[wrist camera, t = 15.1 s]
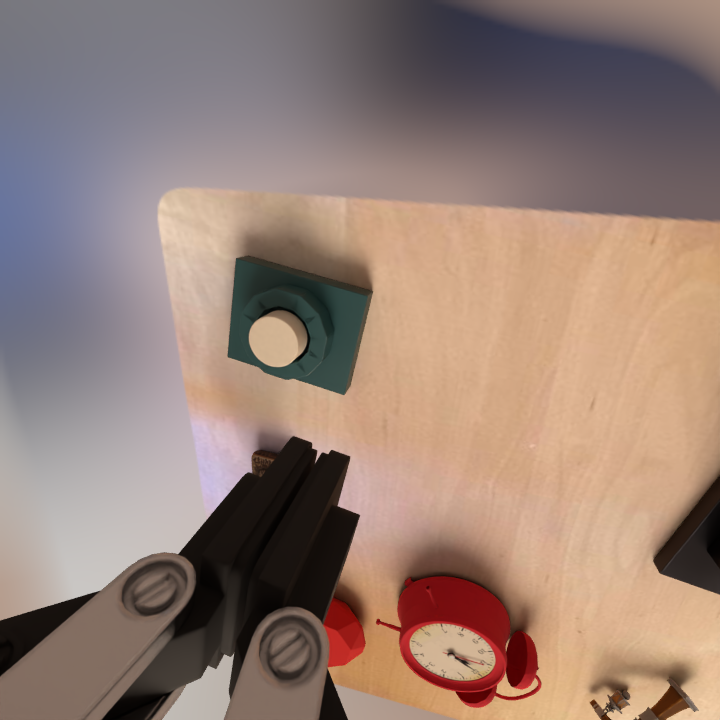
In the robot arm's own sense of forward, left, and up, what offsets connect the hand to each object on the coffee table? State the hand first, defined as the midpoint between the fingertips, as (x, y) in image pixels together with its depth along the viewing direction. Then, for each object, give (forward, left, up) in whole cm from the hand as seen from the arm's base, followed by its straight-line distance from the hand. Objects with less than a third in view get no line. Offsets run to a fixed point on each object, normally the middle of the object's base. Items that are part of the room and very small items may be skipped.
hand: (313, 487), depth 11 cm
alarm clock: (+28, +14, -19) cm, 37 cm away
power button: (+3, -8, -16) cm, 18 cm away
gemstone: (+35, +1, -19) cm, 40 cm away
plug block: (+3, -8, -19) cm, 21 cm away
